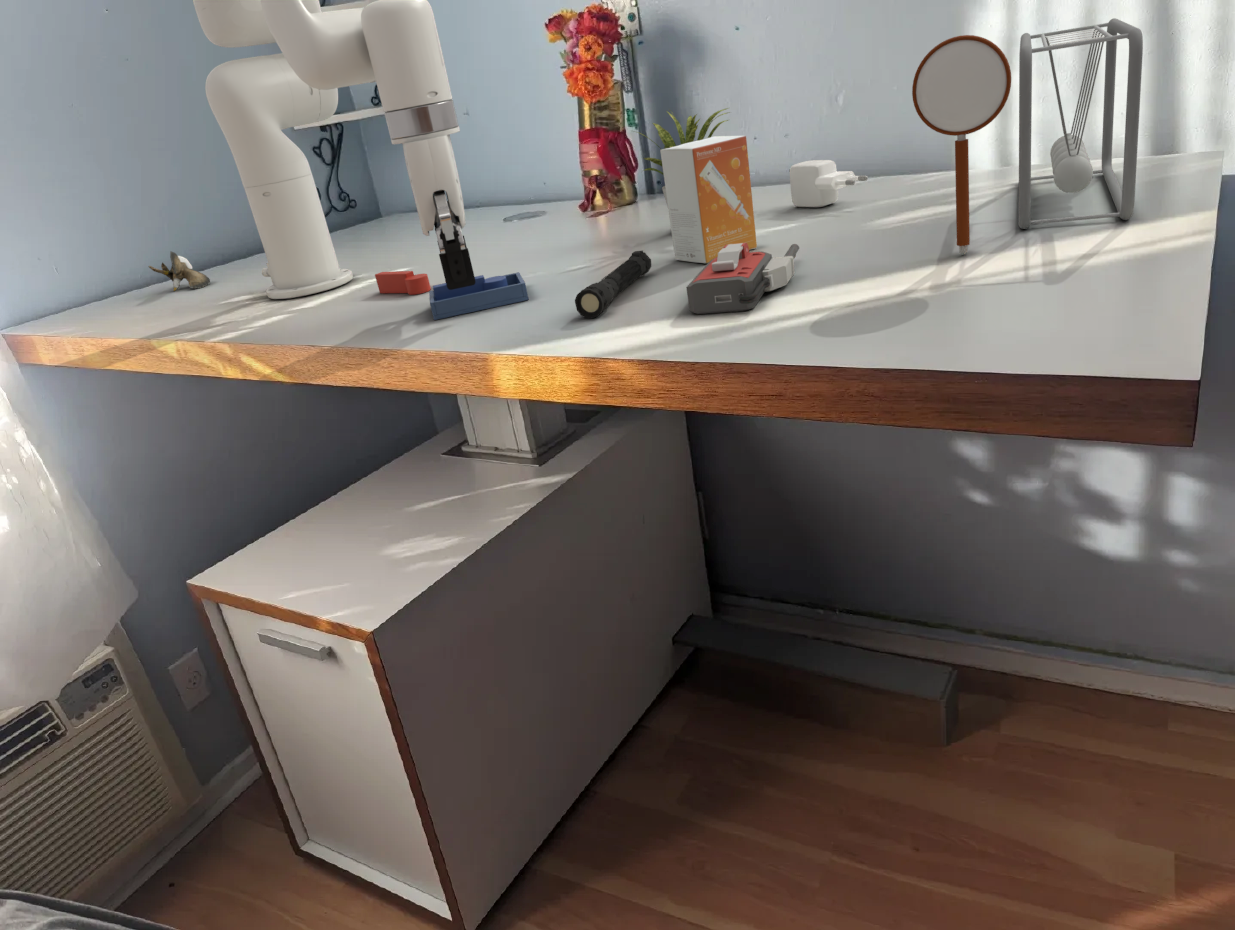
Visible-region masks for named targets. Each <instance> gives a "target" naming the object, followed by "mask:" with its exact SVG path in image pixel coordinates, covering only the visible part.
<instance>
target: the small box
mask: <svg viewBox="0 0 1235 930" xmlns="http://www.w3.org/2000/svg"><path fill="white" fill-rule="evenodd" d="M661 149H662V150H661ZM661 149H660V151H659V152H660V157H661V158H660V160H662V166H663V167H662V166H661V167H662V172H663V174H664V175H663V180H664V186H665V188H666V195H667V203H668V207H667V209H668V217H669V224H670V230H671V231H670V232H671V239H672V245H673V252H674V260H677V261H680V262H689V263H697V264H708V263H709V262H710V261H711V260H712V259H714V258H716V257H718V253H719V251H720V250H721V249H723V247H724V246H725V245H729V244H739V243H747V244H748V247H749V251H751V250H755V249H757V248H758V245H757V243H758V242H757V233H756V232H757V231H756V224H755V212H754V201H753V194H752V193H753V191H752V181H751V173H750V172H751V171H750V162H749V161H750V160H749V151H748V141H747V135H720V136H719V135H716V136H715V135H714V136H711V137H710V138H708V137H707V138H704V139H703V140H698V141H697V140H694V141H693V142H689V143H685V144H681V143H680V144H679V145H676V146H675V147H670V148H666V149H664V148H661ZM667 203H666V204H667Z"/></svg>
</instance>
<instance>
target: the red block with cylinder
mask: <svg viewBox="0 0 1235 930" xmlns="http://www.w3.org/2000/svg"><path fill="white" fill-rule="evenodd" d="M374 277H375V280H376V285H377V287H378V292H379V294H408V295H409V296H414V295H420V294H424V293H429V291H432V287H431V283H430V280H429V276H428V273H416V274H414V271H413V270H397V271H380V272H377V273H375V274H374Z"/></svg>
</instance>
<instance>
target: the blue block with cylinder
mask: <svg viewBox="0 0 1235 930" xmlns="http://www.w3.org/2000/svg"><path fill="white" fill-rule="evenodd" d="M474 277H475V281H476V282H475V284H474V285H472V286H467V287H462V288H458V289H453V290H449V289H448V288H447V285H446V282H444V283H440V284H439V283H438V284H435V285H432V289H433V290H434V294H435V298H436V301H439V300H444V299H448V298H453V297H458V296H462V295H467V294H472V293H477V292H481V291H486V290H491V289H495V288H500V287H505V286H508V284H507V279H506V276H503V275H495V276H490V277H487V278H485V275H483V274H481V275H476V276H474Z"/></svg>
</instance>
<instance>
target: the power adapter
mask: <svg viewBox="0 0 1235 930" xmlns="http://www.w3.org/2000/svg"><path fill="white" fill-rule="evenodd" d="M868 179H869V177H868V175H856V174H855V173H854V171H852V170H838V169H837V164H836V162H835V161H834V160H831V159H817V160H816V159H815V160H814V159H811V160H805V161H801V162H798V163H794V164H793V165H791V166H790V168H789V184H790V195H791V200H792V201H791V202H792V204H793V205H794V206H795V207H797V208H822V207H826V206H829V205H832V204H834V203H836V202H837V201H838V199H839V190H840V189H842V188H846V187H850V186H854V185H855V184H856V182H866V181H868Z"/></svg>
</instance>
